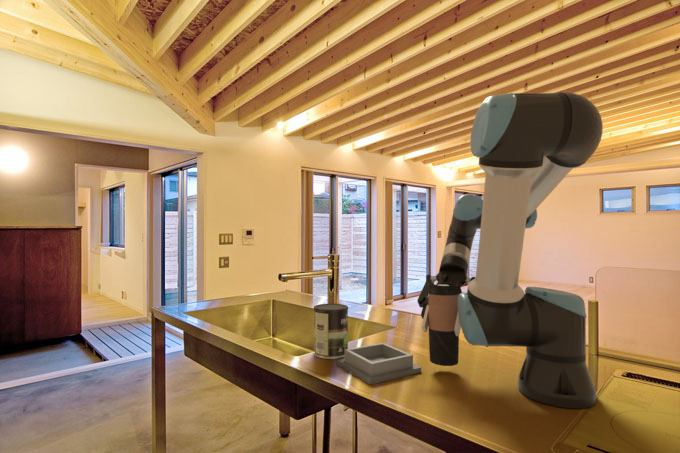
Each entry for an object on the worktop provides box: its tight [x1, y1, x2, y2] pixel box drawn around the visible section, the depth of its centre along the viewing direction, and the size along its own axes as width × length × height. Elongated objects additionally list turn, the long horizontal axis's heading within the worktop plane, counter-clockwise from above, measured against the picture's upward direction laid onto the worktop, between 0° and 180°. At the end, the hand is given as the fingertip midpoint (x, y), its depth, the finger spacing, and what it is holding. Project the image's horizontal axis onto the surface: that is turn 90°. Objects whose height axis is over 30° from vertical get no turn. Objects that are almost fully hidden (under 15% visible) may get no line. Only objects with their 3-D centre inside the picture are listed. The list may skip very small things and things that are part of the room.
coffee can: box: [313, 303, 349, 360], centre depth 114 cm, size 10×10×14 cm
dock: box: [336, 342, 422, 385], centre depth 101 cm, size 16×16×4 cm
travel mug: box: [428, 282, 460, 367], centre depth 99 cm, size 8×8×20 cm
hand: (440, 330), depth 96 cm, fingers closed on travel mug, 7 cm apart
